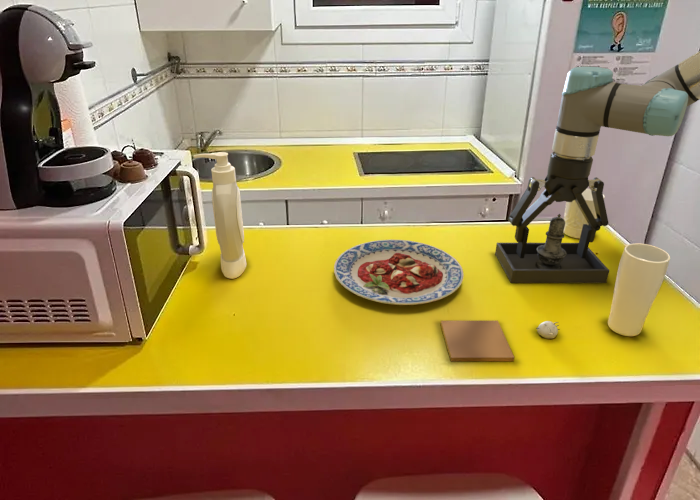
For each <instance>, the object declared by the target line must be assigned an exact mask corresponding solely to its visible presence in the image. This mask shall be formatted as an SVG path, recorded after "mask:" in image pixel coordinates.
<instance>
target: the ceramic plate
mask: <svg viewBox="0 0 700 500" xmlns="http://www.w3.org/2000/svg"><path fill="white" fill-rule="evenodd" d="M333 273H334V276H335V278H336V280H337V281H338V283H339V284H340V285H341V286H342V287H343V288H345V290H347V291H349V292H350V293H352V294H354V295H355V296H358V297H359V298H363V299H366V300H369V301H373V302H376V303H380V304H386V305H397V306H408V305H409V306H414V305H415V306H416V305H423V304H428V303H432V302H436V301H440V300H443V299H445V298H446V297H448V296H450V295H452V294H453V293H455V292H456V291H458V289H459V288H460V287H461V285H462V283H463V282H464V281H463V280H464V276H465V275H464V274H465V273H464V269H463V267H462V265H461V264H460V263H459V261H458V260H457V258H455V257H454V256H452V255H451V254H450V253H448V252H446V251H445V250H443V249H441V248H439V247H436V246H433V245H430V244H427V243H423V242H418V241H414V240H406V239H377V240H372V241H367V242H363V243H360V244H356V245H354V246H352V247H350V248H348V249H346V250H344V252H342V253H341V254H340V255H339V256H338V257H337V259H336V260H335V261H334V264H333Z"/></svg>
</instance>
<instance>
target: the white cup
mask: <svg viewBox="0 0 700 500" xmlns="http://www.w3.org/2000/svg"><path fill="white" fill-rule="evenodd" d="M582 195H583V197H584V199H585V201H586V203H587V205H588V207H589V209H590V211H591V212H592V214H593V216H594V218H595V219H596V218H597V216H596V212H595V207H594V202H593V198H592V193H591V190H590V189H589V188H587V189H586V190H585V191H584V192H583V193H582ZM603 198H604V199H605V198H606V196H605V194H604V193H603ZM563 219H564V220H565V227H564V232H563V234H564V235H565V236H568V237H571V238H574V239H579V240H580V236H581V232H582V227H583V224H587V225H588V222H587V221H586V219H585V217H584V215H583V214H582V212H581V210H580V208H579V207H578V205H577V203H576V201H575V200H574V201H572V202H566V201H565V206H564V213H563Z"/></svg>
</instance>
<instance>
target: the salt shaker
mask: <svg viewBox="0 0 700 500" xmlns="http://www.w3.org/2000/svg"><path fill="white" fill-rule="evenodd" d="M564 227H565V220H564V218H562V214H561V213H558V214H557V216H555V217H552V218H550V221H549V225H548V230H547V231H546V232H545V235H546V238H545V242H544V243H545V244H544V245H541V246H538V247H537V252H538V258H539V259H540V260H538V261H537V262H536V263H535V265H536V267H537V268H538V269H562V267H561V265H560V264H559V263H560V262H562V260H563V259H564V257H565V256H566V255H567V253H566V251H565V250H564V249H562V248H561V243H563V239H564V238H565V236H566V234H564Z"/></svg>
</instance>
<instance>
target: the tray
mask: <svg viewBox="0 0 700 500" xmlns="http://www.w3.org/2000/svg"><path fill="white" fill-rule="evenodd" d="M544 244H545V242H527V244H526V249H525V255H524V258H520V257H519V256H518V254H517V252H516V251H517V245H518V242H496V245H495V252H494V255H495V257H496V259H497V261H498V262H499V264H500V266H501V268H502V270H503V271H504V273H505V275H506V277H507V279H508V280H509V282H510V283H511V284H607V281H608V278H609V274H610V272H611V271H610V269H609V268H608V267H607V266H606V264H605V263H603V262H602V260H601V259H600V258H599V257H598V255H596V254H595V252H593V251H592V249H590V247H589V246H588V250H587V254H586V258H581V257H580V256H579V255H578V253H577V248H578V244H579V242H561V248H562V249H564V250H565V251H566V253H567V255H566V256H565V257H564V259H563V260H562V262H560V263H559V264H560V265H561V267H562V269H538V268H537V267H536V265H535V263H536V262H537V261H538V260H540V259H539V258H538V252H537V247H538V246H541V245H544Z"/></svg>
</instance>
